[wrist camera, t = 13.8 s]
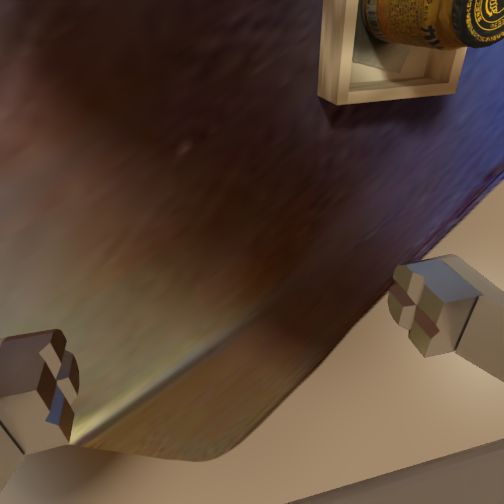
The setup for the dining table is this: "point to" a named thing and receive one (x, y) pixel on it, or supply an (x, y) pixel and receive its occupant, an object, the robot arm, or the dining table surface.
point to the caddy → (372, 78)
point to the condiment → (423, 28)
